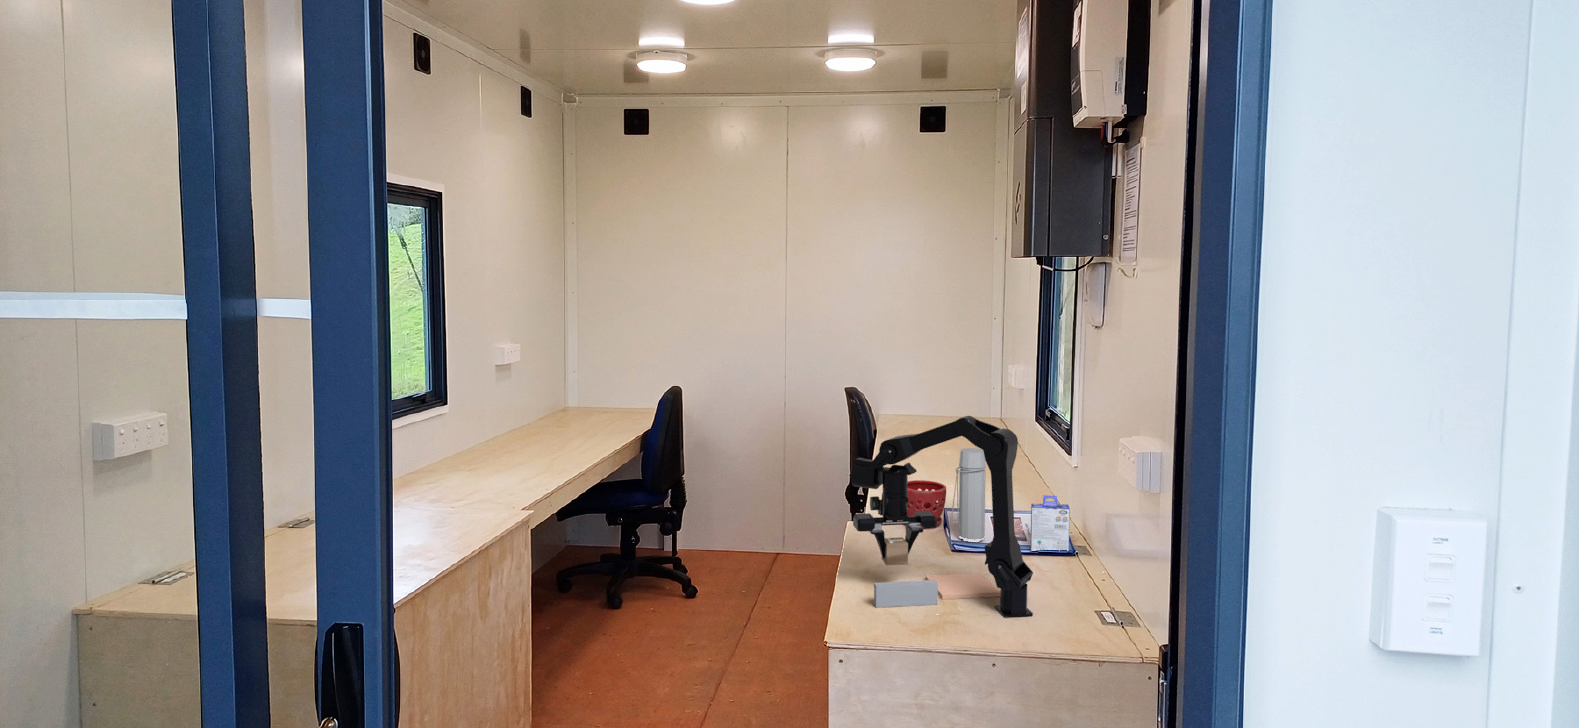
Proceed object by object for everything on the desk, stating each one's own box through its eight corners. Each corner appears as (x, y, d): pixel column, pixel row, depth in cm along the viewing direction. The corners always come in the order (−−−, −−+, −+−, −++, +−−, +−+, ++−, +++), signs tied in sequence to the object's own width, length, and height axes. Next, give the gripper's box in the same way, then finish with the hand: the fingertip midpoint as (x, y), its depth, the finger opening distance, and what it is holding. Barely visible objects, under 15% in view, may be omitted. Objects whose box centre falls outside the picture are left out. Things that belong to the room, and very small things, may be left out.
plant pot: (896, 529, 276) (897, 488, 275) (905, 517, 289) (905, 478, 287) (942, 532, 272) (942, 491, 271) (948, 520, 285) (949, 481, 284)
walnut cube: (907, 564, 222) (908, 542, 221) (886, 565, 221) (886, 543, 220) (902, 557, 226) (902, 536, 226) (881, 558, 226) (881, 537, 225)
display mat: (1001, 596, 219) (1001, 591, 219) (942, 599, 218) (942, 595, 217) (981, 576, 233) (981, 572, 233) (925, 579, 231) (925, 575, 231)
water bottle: (981, 535, 269) (982, 447, 266) (988, 543, 261) (989, 453, 258) (948, 536, 269) (949, 448, 266) (954, 544, 261) (955, 453, 258)
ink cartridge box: (1068, 548, 256) (1069, 495, 255) (1069, 554, 251) (1071, 500, 249) (1029, 546, 258) (1030, 493, 257) (1030, 552, 253) (1031, 498, 251)
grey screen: (937, 604, 214) (937, 582, 214) (876, 607, 212) (876, 585, 212) (934, 601, 216) (935, 579, 216) (874, 604, 214) (874, 582, 214)
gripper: (924, 482, 231) (924, 545, 233) (848, 485, 229) (848, 549, 230) (938, 492, 220) (937, 559, 222) (858, 496, 218) (858, 563, 219)
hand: (894, 557), depth 224 cm, fingers closed on walnut cube, 5 cm apart
